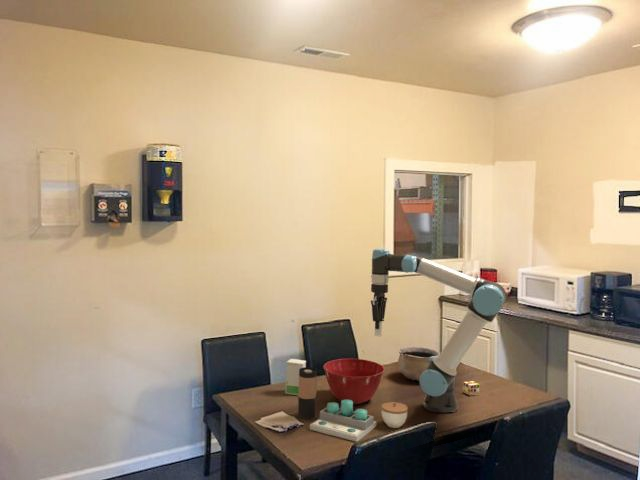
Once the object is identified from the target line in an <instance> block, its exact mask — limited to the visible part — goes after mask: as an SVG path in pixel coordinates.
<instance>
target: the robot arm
mask: <svg viewBox="0 0 640 480" xmlns="http://www.w3.org/2000/svg"><path fill="white" fill-rule="evenodd" d="M371 257H372V258H371V276H370V278H371V286H370V291H371V293H373V299H371V300H370V304H371V314H372V315H371V316H372V321H373V322H374V337H375V336H376V337H382V332H383V331H382V329H383V322H385V314H386V308H387V301H388V297H386V294H387V293H389V272H398V273H406V274H407V273H416V274H418V275H421V276H424V277H426V278H428V279H431V280H433V281H435V282H438V283H440V284H442V285H445V286H448V287H450V288H452V289H455V290H457V291H460V292H462V293H465V294H467V295H469V296H470V298H471V299H470V301H469V302H468V304H467V305H466V309H467V312H466V314H465V315H464V317H463V318H462V320H461V321H460V323H459V324H458V326H457V328H456V329H455V330H454V333H452V335H451V337H450V338H449V340H448V341H447V343H446V344H445V346H444V348H442V350H441V352H439V353H440V355H439V356H431V357H430V358H429V365H428V366H427V368H426V369H425V371H424V372H423V373H422V374H421V376H420V381H419V385H420V388H421V390H422V391H423V392H424V393H425V397H424V399H423V407H424V408H425V409H426V410H427V411H431V412H433V411H435V412H434V413H437V412H451V411H455V410H456V409H457V408H459V404H458V399H457V396H456V393H455V384H456V383H455V382H456V381H455V380H456V376H457V373H458V372H457V367H458V366H459V365H460V363H461V362H462V360H463V358H465V356H466V354H467V353H468V351H469V350H470V348H471V347H472V345H473V344H474V342H475V341H476V339H477V338H478V337H479V335H480V333H481V332H482V330H483V329H484V327H485V326H486V324H491V323H492V322H493V321H494V320H495V318H496V316H498V314H499V312H501V310H502V308H503V307H504V305H505V303H506V301H507V292H506V289H505V288H504V287H503V286H502V285H501V284H499V283H498V282H494V281H490V280H487V279H485V278H482V277H477V278H475V277H473V276H471V275H467V274H465V273H462V272H461V271H457V270H455V269H452V268H450V267H447V266H445V265H442V264H440V263H437V262H435V261H432V260H430V259H427V258H424V257H421V256H419V255H418V254H417V253H414V252H408V253H405V254H392V253H390V250H389V249H386V248H375V249H373V250H372V255H371ZM457 410H458V409H457ZM455 412H456V411H455Z"/></svg>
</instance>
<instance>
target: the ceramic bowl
mask: <svg viewBox="0 0 640 480" xmlns="http://www.w3.org/2000/svg"><path fill="white" fill-rule="evenodd" d="M398 352H399V356H398V359H397V363H398V369H399V370H400V371H401V373H402V375H403V376H404V377H405V378H407V379H408V380H410V379H411V380H410V381H414V380H417V381H416V382H420V376H421V374H422V373H423V372H424V371H425V369H426V368H427V366H428V365H429V358H430V357H431V356H439V355H440V353H441V352H438V351H436V350H435V349H430V348H427V347H419V346H417V347H416V346H407V347H400V348H399V350H398Z"/></svg>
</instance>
